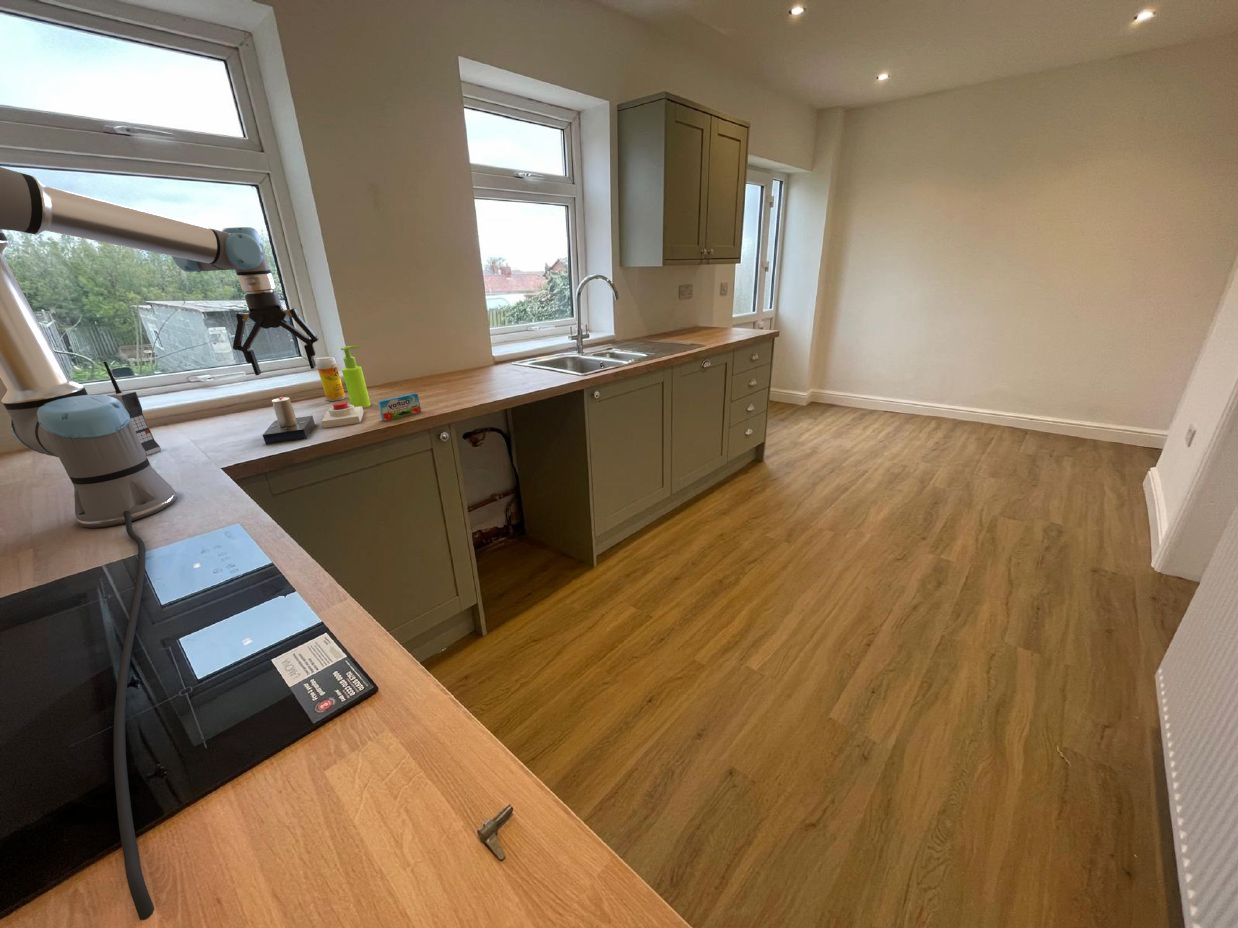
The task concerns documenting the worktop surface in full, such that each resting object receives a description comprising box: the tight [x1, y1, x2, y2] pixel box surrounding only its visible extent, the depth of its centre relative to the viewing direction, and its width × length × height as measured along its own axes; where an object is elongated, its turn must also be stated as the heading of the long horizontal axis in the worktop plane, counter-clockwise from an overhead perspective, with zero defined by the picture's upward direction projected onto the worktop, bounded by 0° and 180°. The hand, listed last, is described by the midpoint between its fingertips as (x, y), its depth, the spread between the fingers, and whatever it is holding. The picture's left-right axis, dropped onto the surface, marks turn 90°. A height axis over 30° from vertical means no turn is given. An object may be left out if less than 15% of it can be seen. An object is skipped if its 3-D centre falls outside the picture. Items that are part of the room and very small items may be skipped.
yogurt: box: [377, 392, 422, 422], centre depth 156 cm, size 12×2×6 cm, turn 136°
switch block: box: [321, 404, 364, 429], centre depth 156 cm, size 12×10×4 cm
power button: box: [332, 401, 349, 410], centre depth 155 cm, size 4×4×2 cm
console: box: [262, 415, 316, 446], centre depth 145 cm, size 14×10×3 cm
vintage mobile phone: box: [102, 361, 162, 456], centre depth 132 cm, size 4×5×25 cm
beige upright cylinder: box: [271, 396, 297, 427], centre depth 143 cm, size 4×4×8 cm
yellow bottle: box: [315, 355, 346, 402], centre depth 178 cm, size 6×6×15 cm
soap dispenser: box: [340, 345, 372, 409], centre depth 167 cm, size 6×7×20 cm
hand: (286, 371), depth 141 cm, fingers open, 13 cm apart
